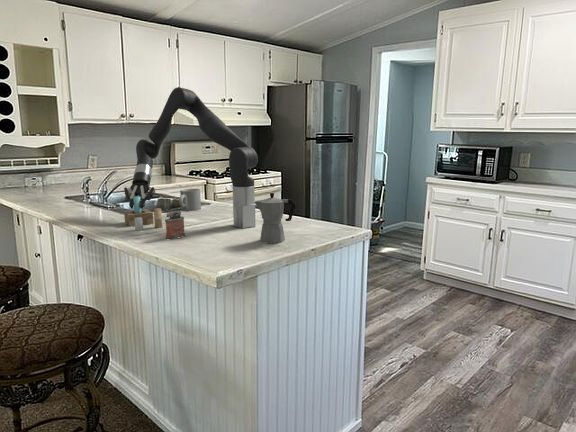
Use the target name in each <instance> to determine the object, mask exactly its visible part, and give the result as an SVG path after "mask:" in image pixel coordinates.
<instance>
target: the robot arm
mask: <svg viewBox="0 0 576 432" xmlns="http://www.w3.org/2000/svg"><path fill="white" fill-rule="evenodd" d="M179 110H184V111H187V112H189V113H190V114H191V115H193V117H194V118H196V120H197V123H198V127H199V129H200V130H201V132H202V133H203V134H204V135H205V136H206V137H207V138H208V139H209V140H211V142H214V143H216V144H218V145H219V146H221V147H223V148H225V149H227V150H229V151H230V152H229V156H228V167H229V177H230V180H231V183H232V186H231V187H232V215H233V226H234V227H235V228H242V229H246V228H253V227H256V226H257V224H256V220H257V218H256V204H255V203H254V202H255V201H256V200H255V195H256V194H255V178H252V177H251V176H249V174H248V170H250V169H253V168H255V167H256V166H257V164H258V162H259V157H258V154H257V152H256V150H255V149H254V148H253V147H252V146H250V145H249V144H248V143H246V142H245V141H244V140H242V139H241V138H240V137H239V135H237V134H236V133H235V132H234V131H233V130H232V129H231V128H230V127H228V126H227V124H226V123H225V122H224V121H222V120H221V118H219V116H217V115H216V114H215V113H214V112H213V111H212V110H211V109H209V107H208V106H207V105H205V103H204V102H203V100H201V99H200V97H199V96H198V95H197V93H196V92H195V91H193V90H191V89H188V88H183V87H179V86H178V87H175V88H174V89H172V90H171V92H170V94H169V96H168V98H167V100H166V103H165V105H164V107H163V109H162V111H161V113H160V116H159V118H158V120H157V121H156V123H155V125H153V127H152V129H150V132H149V133H148V138H149V140H151V141H149V140H147V139H139V141H138V142H137V144H136V147H135V151H136V152H135V153H136V159H137V162H136V167H135V170H134V171H133V172H134V173H133V178H132V181H131V185H130V186H129V187H126V186H125V187H124V188H123V190H124V194H125V197H126V199H127V201H129V203H128V206H129V208H130V209H133V210H134V201H133V197H135V196H140V197H141V203H140V207H141V209H143V208H145V206H146V205H145V204H146V202H147V201H151V199H152V198H153V196H154V194H155V193H156V188H155V187H154V186H151V185H150V184H151V180H152V177H153V176H152V174H153V171H152V170H153V167H154V159H156V158H157V157H158V155H159V154H160V151H161V150H160V149H161V146H162V144H163V142H164V141H165V139H166V138H167V136H168V135H169V134H170V132H171V129H172V121H173V120H172V119H173V117H174V116H175V114H176V112H178V111H179ZM130 193H131V195H130ZM146 194H147V195H146Z"/></svg>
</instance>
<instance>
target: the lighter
mask: <svg viewBox="0 0 576 432" xmlns="http://www.w3.org/2000/svg"><path fill="white" fill-rule="evenodd" d="M181 215H182V212H181V211H172V212H168V213H167V212H166V218H165V219H164V221H165V232H166V236H165V238H166V240H167V239H171V240H174V239H173V238H176V239H179V238H178V237H180V238H183V237H182V236H184V237H185V236H186V233H185V217H184V216H181Z"/></svg>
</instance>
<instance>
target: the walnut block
mask: <svg viewBox="0 0 576 432" xmlns="http://www.w3.org/2000/svg"><path fill="white" fill-rule="evenodd" d="M141 211H142V213H134V209H133V210H124V211H123V217H124V223H125V224H126V225H127V226H129V227H130V228H131V227H135V218H138V217H141V218H142V222H143V226H147V225H155V222H154V212H152V211H150V210H149V209H147V208H145V209H143V208H141Z"/></svg>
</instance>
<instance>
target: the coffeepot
mask: <svg viewBox="0 0 576 432" xmlns="http://www.w3.org/2000/svg"><path fill="white" fill-rule="evenodd" d="M254 203H255V206H256V207H258V210H259V212H260V214H261V219H262V224H261V225H262V226H261V233H260V239H259V240H260V242H262V243H264V242H267V243H266V244H280V243H279V242H281V243H283V242H284V241H285V240H286V238H285V233H284V232H285V231H284V226H283V223H282V219H283V217H284V209H285V205H291V206H290V209H289V210H290V211H289V213H288V218H284V220H285V222H291V221H292V219H293V216H294V213H295V210H296V208H297V203H296V202H295V201H294V200H293V199H292V198H287V199H286V198H283V199H281V198H277V197H275V192H270V193H269V197H268V198H265V199H260V200H255V202H254ZM282 241H283V242H282Z"/></svg>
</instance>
